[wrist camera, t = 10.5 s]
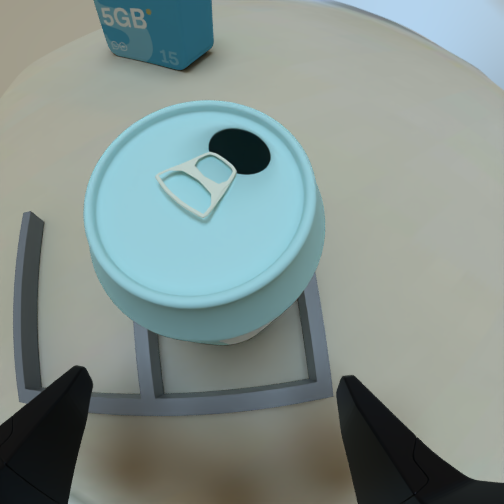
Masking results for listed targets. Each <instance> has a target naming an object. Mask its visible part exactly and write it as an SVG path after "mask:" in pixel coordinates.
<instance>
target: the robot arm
mask: <svg viewBox="0 0 504 504" xmlns="http://www.w3.org/2000/svg"><path fill="white" fill-rule="evenodd" d="M92 388H93V382H92V379H91V377H90V375H89V373H88V371H87V369H86V368H85V367H83V366H78V365H76V366H73V367H72V368H71V369H70V370H68V371H67V372H66V373H65V374H63V375H62V376H61V377H60V378H58V379H57V380H56V381H55V382H53V383H52V384H51V385H50V386H48V387H47V388H46V389H45V390H43V391H42V392H41V393H40V394H38V395H37V396H36V397H35V398H33V399H32V400H31V401H30V402H29V403H27V404H26V405H25V406H24V407H22V408H21V409H20V410H19V411H18V412H16V413H15V414H14V415H13V416H11V417H10V418H9V419H8V420H6V421H5V422H4V423H3V424H1V425H0V504H68V499H69V494H70V489H71V484H72V479H73V474H74V469H75V465H76V461H77V456H78V452H79V448H80V444H81V440H82V437H83V433H84V429H85V425H86V421H87V416H88V411H89V405H90V399H91V394H92ZM336 397H337V404H338V412H339V420H340V428H341V434H342V439H343V443H344V447H345V451H346V455H347V459H348V463H349V467H350V472H351V476H352V480H353V485H354V489H355V493H356V498H357V502H358V504H504V483H498V482H487V481H479V480H474V479H471V478H469V477H467V476H465V475H464V474H462V473H461V472H459V471H458V470H457V469H455V468H454V467H452V466H451V465H450V464H448V463H447V462H446V461H444V460H443V459H442V458H440V457H439V456H438V455H437V454H435V453H434V452H433V451H432V450H431V449H429V448H428V447H427V446H426V445H425V444H424V443H423V442H422V441H421V440H420V439H419V438H418V437H417V438H416V436H415V435H414V434H413V433H412V432H411V431H410V430H409V429H408V428H407V427H406V426H405V425H404V424H403V423H402V422H401V421H400V420H399V419H398V418H397V417H396V416H395V415H394V414H393V413H392V412H391V411H390V410H389V409H388V408H387V407H386V406H385V405H384V404H383V403H382V402H381V401H380V400H379V399H378V398H377V397H376V396H374V395H373V394H372V393H371V392H370V391H369V390H368V389H367V388H366V387H365V386H364V385H363V384H362V383H361V382H360V381H359V380H358V379H357V378H356V377H355V376H354V375H347V376H343V377H342V378H341V380H340V383H339V386H338V388H337V392H336Z"/></svg>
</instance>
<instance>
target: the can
mask: <svg viewBox="0 0 504 504" xmlns="http://www.w3.org/2000/svg"><path fill="white" fill-rule="evenodd" d="M84 227H85V232H86V236H87V240H88V243H89V247H90V254H91V259H92V263H93V266H94V269H95V272H96V274H97V276H98V279H99V281H100V283H101V285H102V286H103V288H104V290H105V291H106V293H107V295H108V296H109V297H110V299H111V300H112V301H113V303H114V304H115V305H116V306H117V307H118V308H119V309H120V310H121V311H122V312H123V313H124V314H125V315H127V316H128V317H129V318H130V319H131V320H133V321H134V322H136V323H137V324H139V325H141V326H142V327H144V328H146V329H148V330H150V331H152V332H154V333H157V334H160V335H162V336H165V337H169V338H173V339H177V340H183V341H190V342H197V343H205V344H213V345H232V344H237V343H240V342H243V341H246V340H248V339H250V338H252V337H254V336H255V335H256V334H258V333H259V332H260V331H262V330H263V329H264V328H265V327H266V326H268V325H269V324H270V323H271V322H272V321H274V320H275V319H276V318H277V317H278V316H279V315H281V314H282V313H283V312H284V311H285V310H286V309H287V308H289V307H290V306H291V305H292V304H293V303H294V302H295V300H296V299H297V298H298V297H299V296H300V295H301V293H302V292H303V291H304V289H305V288H306V287H307V285H308V283H309V282H310V280H311V278H312V277H313V275H314V272H315V270H316V268H317V266H318V263H319V260H320V257H321V254H322V250H323V245H324V238H325V214H324V206H323V202H322V198H321V194H320V192H319V189H318V186H317V184H316V180H315V176H314V172H313V169H312V166H311V163H310V161H309V159H308V157H307V155H306V153H305V151H304V149H303V148H302V146H301V145H300V143H299V142H298V141H297V140H296V138H295V137H294V136H293V135H292V134H291V133H290V132H289V131H288V130H287V129H286V128H285V127H284V126H282V125H281V124H280V123H278V122H277V121H276V120H274V119H273V118H271V117H269V116H268V115H266V114H264V113H262V112H260V111H258V110H255V109H253V108H250V107H247V106H244V105H240V104H236V103H231V102H225V101H212V100H204V101H192V102H185V103H180V104H176V105H172V106H169V107H166V108H163V109H160V110H158V111H156V112H153V113H151V114H149V115H147V116H145V117H144V118H142V119H140V120H139V121H137V122H136V123H134V124H133V125H131V126H130V127H129V128H127V129H126V130H125V131H124V132H123V133H121V134H120V135H119V136H118V137H117V138H116V139H115V140H114V141H113V142H112V143H111V145H110V146H109V147H108V148H107V149H106V151H105V152H104V153H103V155H102V156H101V158H100V159H99V161H98V163H97V165H96V166H95V168H94V170H93V173H92V175H91V177H90V180H89V183H88V186H87V190H86V194H85V200H84Z"/></svg>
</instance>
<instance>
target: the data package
mask: <svg viewBox="0 0 504 504" xmlns="http://www.w3.org/2000/svg"><path fill="white" fill-rule="evenodd" d="M94 3H95V6H96V10H97V13H98V16H99V19H100V22H101V25H102V29H103V32H104V35H105V38H106V41H107V44H108V46H109V48H110V50H111V51H112V52H113V53H114V54H116V55H118V56H121V57H126V58H131V59H135V60H140V61H144V62H149V63H153V64H157V65H161V66H164V67H168V68H172V69H176V70H183V69H185V68H186V67H187V66H189V65H190V64H191V63H192V62H194V61H195V60H196V59H198V58H199V57H200V56H201V55H203V54H204V53H205V52H207V51H208V50H210V49H211V48H212V46H213V43H214V38H213V20H212V0H94Z"/></svg>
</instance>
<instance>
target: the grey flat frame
mask: <svg viewBox="0 0 504 504" xmlns="http://www.w3.org/2000/svg"><path fill="white" fill-rule="evenodd" d="M43 226H44V221H42V220H41V219H40V218H39V217H37V216H36V215H35V214H34V213H32V212H31V211H29V212H25V213H23V218H22V224H21V230H20V236H19V243H18V251H17V259H16V270H15V282H14V303H13V338H14V358H15V370H16V380H17V388H18V396H19V402H22V403H29V402H30V401H31V400H32V399H33V398H35V397H36V396H37V395H38V394H40V393H41V392H42V391H43V390H45V389H46V388H42V386H41V377H40V367H39V354H38V334H37V294H38V274H39V261H40V251H41V242H42V234H43ZM298 304H299V310H300V317H301V324H302V331H303V338H304V345H305V352H306V359H307V367H308V375H309V379H304V380H298V381H292V382H286V383H280V384H273V385H266V386H258V387H250V388H242V389H232V390H221V391H209V392H194V393H171V394H164V390H163V382H162V374H161V366H160V356H159V346H158V335H157V333H154V332H152V331H150V330H148V329H146V328H144V327H142V326H141V325H139V324H137V323H136V322H134V321H133V323H134V337H135V349H136V360H137V370H138V378H139V386H140V394H116V393H95V392H92V394H91V399H90V405H89V411H88V413H99V414H112V415H133V416H185V415H206V414H220V413H231V412H241V411H250V410H258V409H266V408H273V407H280V406H286V405H292V404H298V403H303V402H308V401H314V400H318V399H323V398H328V397H332V396H333V388H332V380H331V372H330V364H329V357H328V350H327V342H326V336H325V329H324V322H323V316H322V310H321V303H320V297H319V291H318V286H317V280H316V274H315V272H314V275H313V277H312V278H311V280H310V282H309V283H308V285H307V287H306V288H305V289H304V291H303V292H302V293H301V295H300V296H299V297H298Z"/></svg>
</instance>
